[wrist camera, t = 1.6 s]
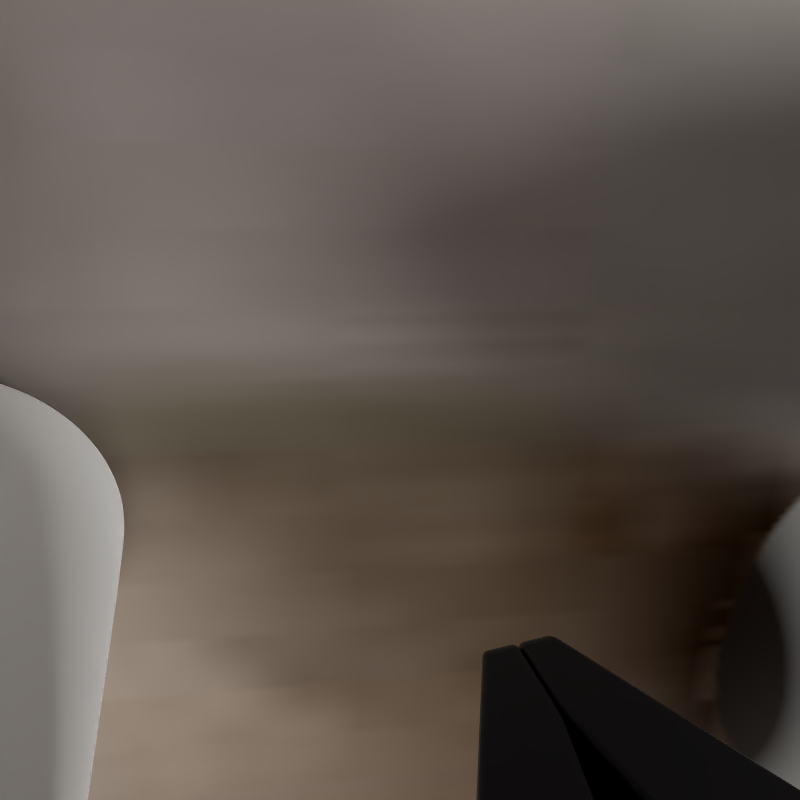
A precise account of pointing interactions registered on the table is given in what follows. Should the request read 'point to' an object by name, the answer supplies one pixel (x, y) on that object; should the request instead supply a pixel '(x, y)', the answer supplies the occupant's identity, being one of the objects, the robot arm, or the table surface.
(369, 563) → the table surface
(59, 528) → the can
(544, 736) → the robot arm
